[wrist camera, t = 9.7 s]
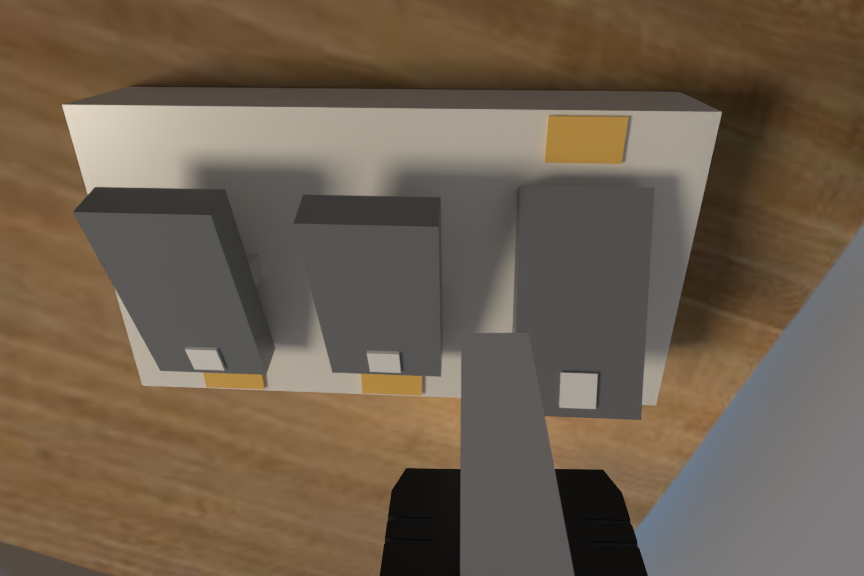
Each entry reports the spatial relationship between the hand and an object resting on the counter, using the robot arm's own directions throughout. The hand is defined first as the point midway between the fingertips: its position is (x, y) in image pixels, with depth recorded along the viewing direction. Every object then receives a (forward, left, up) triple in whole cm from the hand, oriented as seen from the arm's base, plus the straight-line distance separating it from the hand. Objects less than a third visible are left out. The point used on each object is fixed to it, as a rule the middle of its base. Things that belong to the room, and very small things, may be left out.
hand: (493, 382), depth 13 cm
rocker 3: (+3, +4, -10) cm, 11 cm away
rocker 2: (+3, -4, -10) cm, 11 cm away
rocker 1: (+3, -12, -10) cm, 16 cm away
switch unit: (+3, -4, -17) cm, 18 cm away
